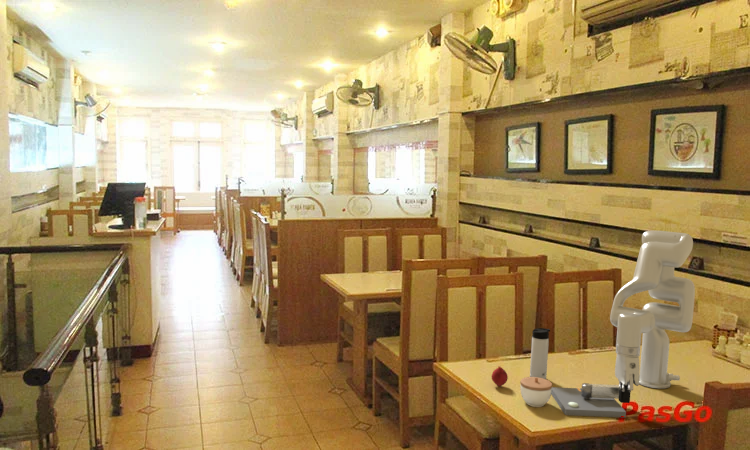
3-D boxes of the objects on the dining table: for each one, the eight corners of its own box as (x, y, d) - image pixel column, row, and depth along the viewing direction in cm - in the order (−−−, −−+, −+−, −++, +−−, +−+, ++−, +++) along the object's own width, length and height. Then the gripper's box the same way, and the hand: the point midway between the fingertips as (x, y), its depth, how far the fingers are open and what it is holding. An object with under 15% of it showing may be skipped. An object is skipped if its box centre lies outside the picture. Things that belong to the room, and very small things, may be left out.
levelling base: (605, 394, 224) (605, 387, 224) (625, 417, 204) (626, 409, 204) (550, 392, 224) (550, 385, 224) (565, 415, 204) (565, 407, 204)
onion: (507, 385, 231) (508, 364, 230) (505, 390, 225) (507, 369, 224) (492, 382, 233) (493, 362, 232) (490, 388, 227) (491, 367, 226)
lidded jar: (542, 412, 206) (544, 385, 205) (513, 403, 213) (515, 377, 212) (556, 403, 214) (557, 377, 213) (528, 395, 221) (529, 370, 220)
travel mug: (547, 382, 235) (550, 331, 232) (530, 380, 236) (533, 330, 234) (546, 376, 241) (549, 327, 239) (529, 375, 242) (532, 326, 240)
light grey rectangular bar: (582, 400, 212) (583, 386, 212) (579, 396, 216) (580, 383, 215) (625, 401, 212) (626, 388, 211) (622, 397, 215) (623, 384, 215)
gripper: (648, 357, 199) (644, 411, 201) (630, 343, 214) (626, 393, 216) (625, 356, 199) (621, 410, 201) (608, 342, 214) (605, 393, 216)
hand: (624, 401), depth 208 cm, fingers closed
